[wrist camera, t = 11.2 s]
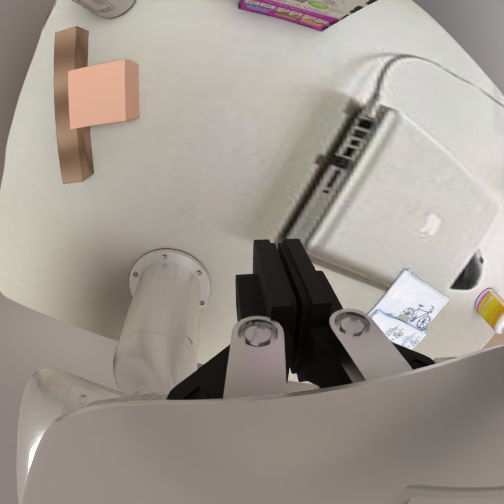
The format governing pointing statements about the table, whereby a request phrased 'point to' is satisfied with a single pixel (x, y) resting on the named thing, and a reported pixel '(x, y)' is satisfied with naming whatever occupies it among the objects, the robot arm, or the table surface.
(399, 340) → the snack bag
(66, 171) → the walnut plank
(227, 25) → the table surface
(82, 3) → the energy drink can
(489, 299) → the supplement bottle
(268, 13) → the candy bar box
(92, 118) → the terracotta block
